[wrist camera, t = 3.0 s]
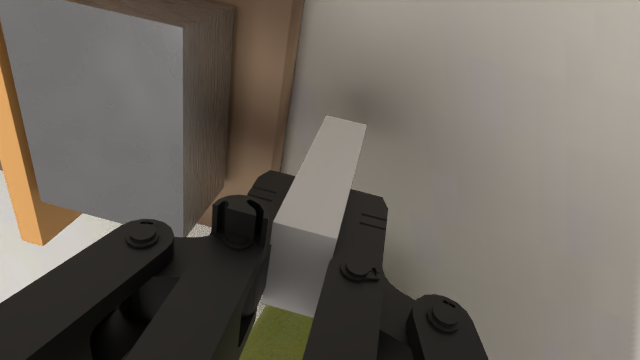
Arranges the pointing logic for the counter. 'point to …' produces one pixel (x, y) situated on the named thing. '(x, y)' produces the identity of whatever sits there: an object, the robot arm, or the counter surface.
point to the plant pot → (277, 336)
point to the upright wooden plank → (24, 167)
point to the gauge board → (258, 90)
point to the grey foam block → (124, 103)
